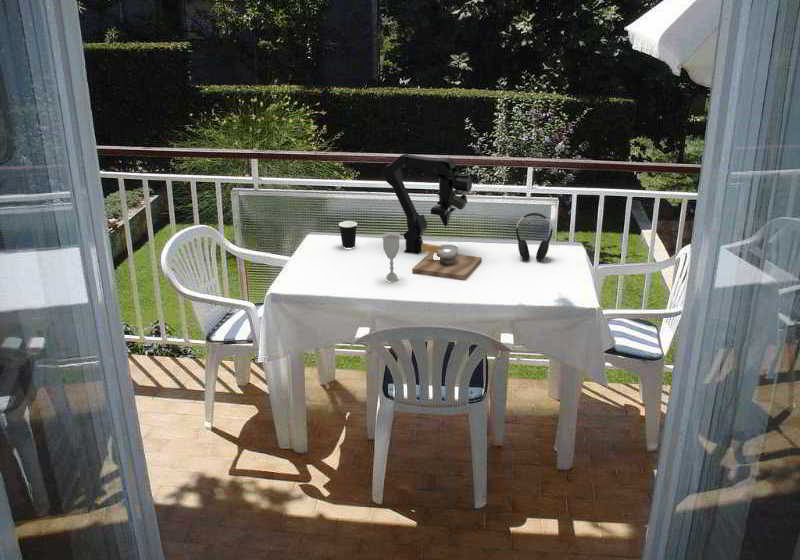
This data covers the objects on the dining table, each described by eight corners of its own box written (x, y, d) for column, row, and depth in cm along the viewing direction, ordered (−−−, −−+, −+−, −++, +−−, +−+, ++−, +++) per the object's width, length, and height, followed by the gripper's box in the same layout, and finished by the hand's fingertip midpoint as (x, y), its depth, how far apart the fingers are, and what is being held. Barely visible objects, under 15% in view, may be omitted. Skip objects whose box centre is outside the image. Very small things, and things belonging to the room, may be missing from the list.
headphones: (550, 264, 314) (553, 216, 307) (514, 262, 317) (516, 215, 309) (550, 256, 322) (553, 210, 315) (515, 255, 325) (517, 209, 317)
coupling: (461, 253, 312) (461, 245, 311) (453, 259, 305) (453, 252, 304) (426, 248, 318) (426, 241, 317) (418, 254, 311) (418, 247, 310)
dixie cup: (361, 247, 336) (361, 223, 332) (347, 252, 331) (346, 227, 327) (349, 243, 341) (348, 219, 337) (336, 248, 336) (334, 223, 332)
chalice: (387, 284, 296) (386, 239, 290) (379, 278, 302) (378, 234, 295) (404, 280, 299) (403, 236, 293) (396, 275, 305) (395, 231, 298)
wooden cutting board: (412, 273, 307) (412, 261, 305) (431, 255, 325) (431, 244, 324) (465, 280, 299) (465, 268, 297) (481, 261, 318) (481, 250, 316)
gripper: (455, 197, 304) (455, 234, 309) (472, 185, 319) (472, 222, 325) (430, 194, 308) (430, 231, 314) (447, 183, 324) (447, 219, 329)
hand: (445, 225), depth 320 cm, fingers closed
